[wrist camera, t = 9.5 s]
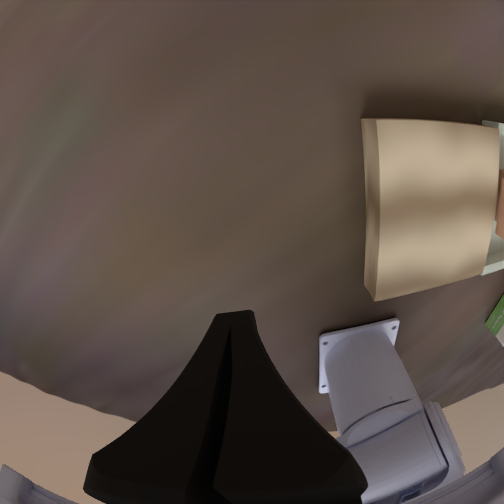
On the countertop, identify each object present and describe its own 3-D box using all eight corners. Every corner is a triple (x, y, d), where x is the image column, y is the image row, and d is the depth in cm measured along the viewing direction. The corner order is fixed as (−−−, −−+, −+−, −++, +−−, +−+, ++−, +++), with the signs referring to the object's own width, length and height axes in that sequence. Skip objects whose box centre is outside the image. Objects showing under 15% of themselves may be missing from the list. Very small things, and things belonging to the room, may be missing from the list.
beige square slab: (467, 260, 21) (482, 273, 19) (363, 284, 22) (374, 301, 20) (479, 124, 15) (499, 128, 13) (360, 118, 16) (376, 119, 14)
